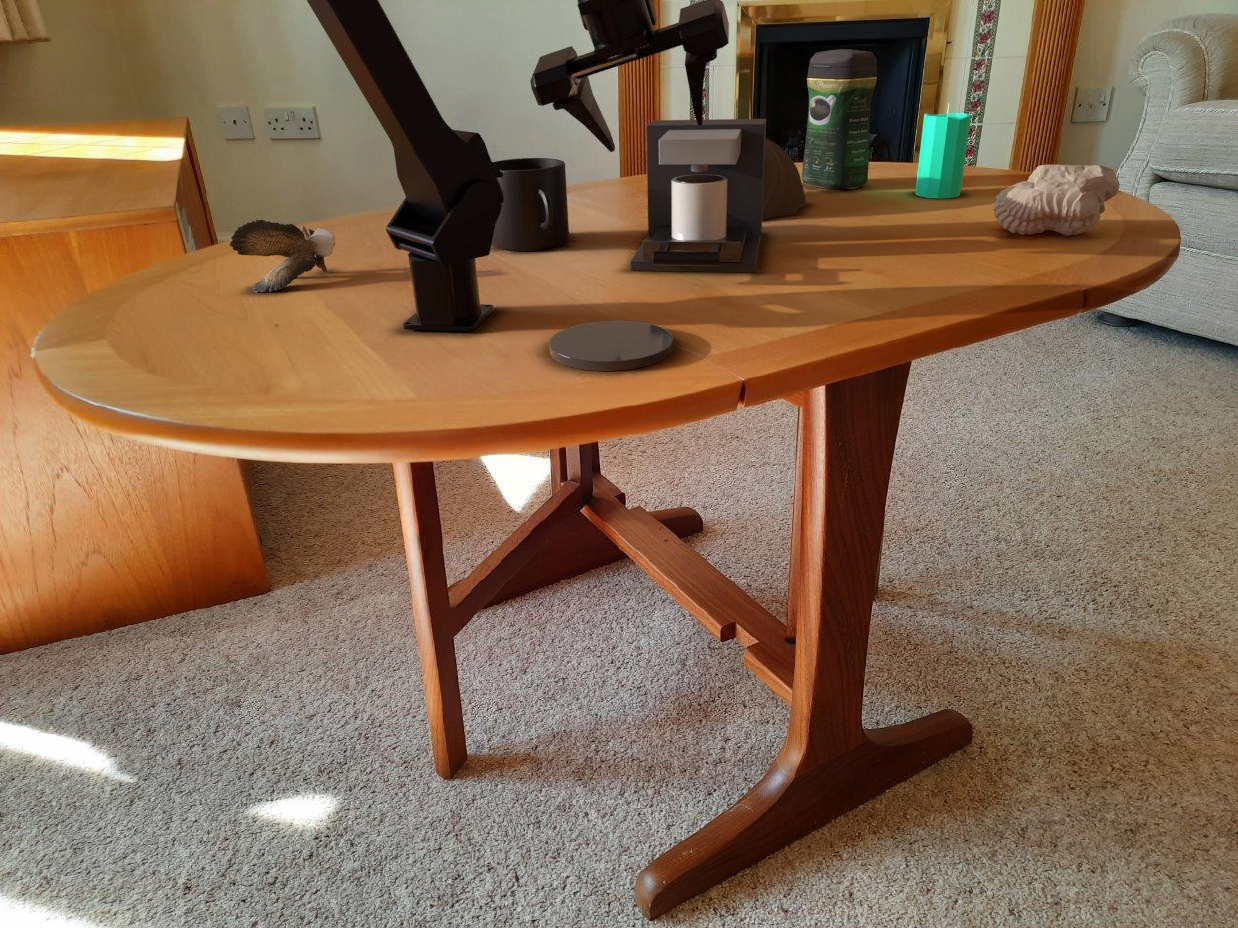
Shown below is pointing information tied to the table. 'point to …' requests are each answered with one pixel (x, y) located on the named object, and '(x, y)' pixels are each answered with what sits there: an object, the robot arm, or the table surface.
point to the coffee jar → (839, 118)
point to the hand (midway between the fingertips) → (656, 137)
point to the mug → (532, 205)
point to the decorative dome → (780, 183)
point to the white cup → (699, 207)
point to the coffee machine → (707, 152)
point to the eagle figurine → (283, 250)
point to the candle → (942, 155)
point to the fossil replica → (1057, 199)
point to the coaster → (611, 345)
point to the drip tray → (694, 249)
